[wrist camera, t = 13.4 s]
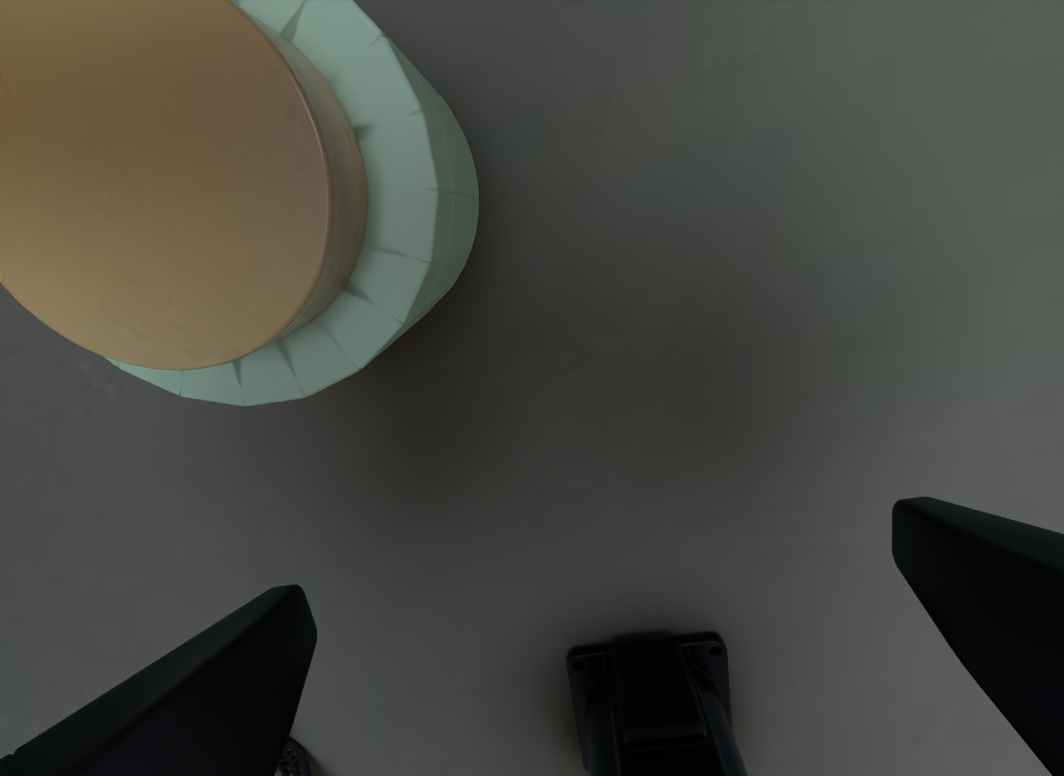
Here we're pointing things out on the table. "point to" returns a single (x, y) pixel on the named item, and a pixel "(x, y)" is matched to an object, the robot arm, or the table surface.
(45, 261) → the stopper
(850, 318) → the table surface
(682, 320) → the table surface
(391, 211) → the jar
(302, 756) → the smartwatch
